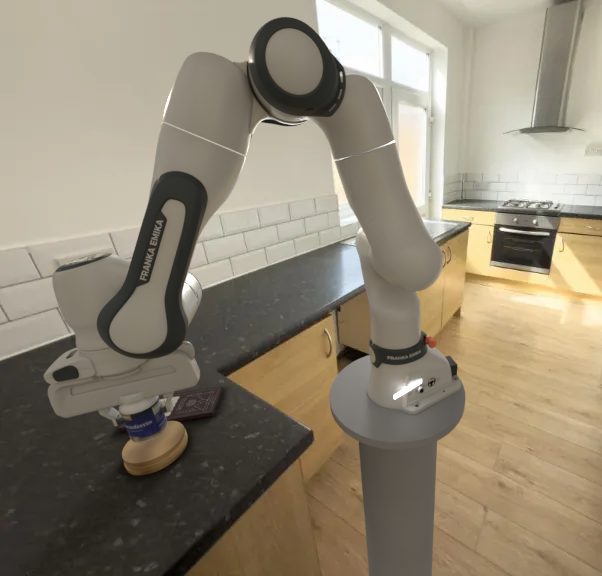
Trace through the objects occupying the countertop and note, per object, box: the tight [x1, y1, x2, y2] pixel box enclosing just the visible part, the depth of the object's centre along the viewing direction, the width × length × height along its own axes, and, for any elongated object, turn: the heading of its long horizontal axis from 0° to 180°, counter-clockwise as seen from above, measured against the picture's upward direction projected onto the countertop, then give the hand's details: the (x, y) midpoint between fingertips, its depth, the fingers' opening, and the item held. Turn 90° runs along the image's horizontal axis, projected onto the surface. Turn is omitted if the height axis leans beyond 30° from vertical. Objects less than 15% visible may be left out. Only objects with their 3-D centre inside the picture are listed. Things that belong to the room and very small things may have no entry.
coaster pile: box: [121, 421, 189, 476], centre depth 60 cm, size 10×10×3 cm
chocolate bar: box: [117, 385, 224, 433], centre depth 71 cm, size 9×1×18 cm
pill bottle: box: [118, 392, 167, 443], centre depth 57 cm, size 6×6×10 cm
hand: (144, 416), depth 58 cm, fingers closed on pill bottle, 6 cm apart
